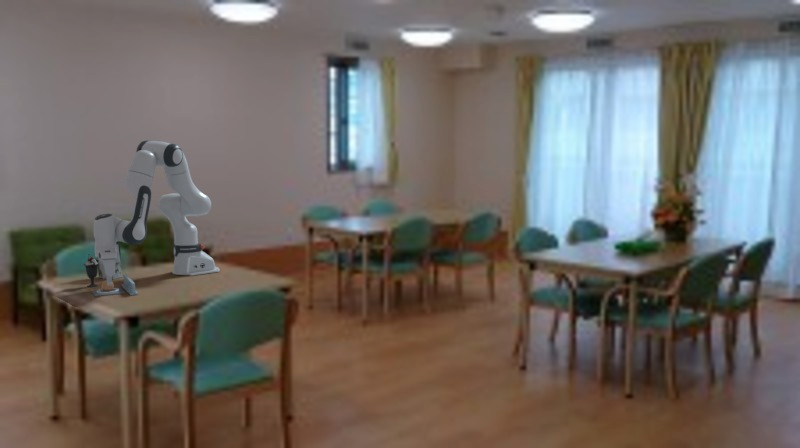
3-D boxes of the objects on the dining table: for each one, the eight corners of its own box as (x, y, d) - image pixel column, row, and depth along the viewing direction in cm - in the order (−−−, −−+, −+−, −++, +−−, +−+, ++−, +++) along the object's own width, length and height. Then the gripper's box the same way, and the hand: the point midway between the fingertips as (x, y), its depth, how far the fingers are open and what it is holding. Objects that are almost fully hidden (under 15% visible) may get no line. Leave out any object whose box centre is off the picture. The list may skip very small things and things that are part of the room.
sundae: (85, 288, 338) (83, 255, 336) (84, 285, 344) (82, 252, 342) (101, 286, 341) (99, 253, 340) (99, 284, 347) (98, 251, 345)
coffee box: (122, 277, 364) (121, 243, 362) (113, 279, 358) (111, 245, 356) (107, 275, 367) (105, 242, 365) (97, 278, 361) (96, 244, 359)
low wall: (128, 285, 345) (128, 274, 344) (137, 294, 326) (137, 283, 325) (121, 286, 343) (121, 275, 343) (130, 295, 324) (130, 283, 324)
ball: (113, 289, 333) (112, 278, 333) (114, 292, 329) (114, 280, 328) (101, 290, 331) (100, 279, 330) (102, 293, 327) (102, 282, 326)
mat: (120, 288, 338) (120, 286, 338) (124, 293, 328) (124, 291, 328) (91, 291, 332) (91, 289, 332) (95, 296, 322) (95, 294, 322)
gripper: (94, 248, 336) (96, 279, 337) (101, 256, 318) (103, 288, 320) (109, 247, 339) (111, 278, 340) (117, 254, 321) (119, 286, 323)
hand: (107, 283), depth 330 cm, fingers open, 8 cm apart
